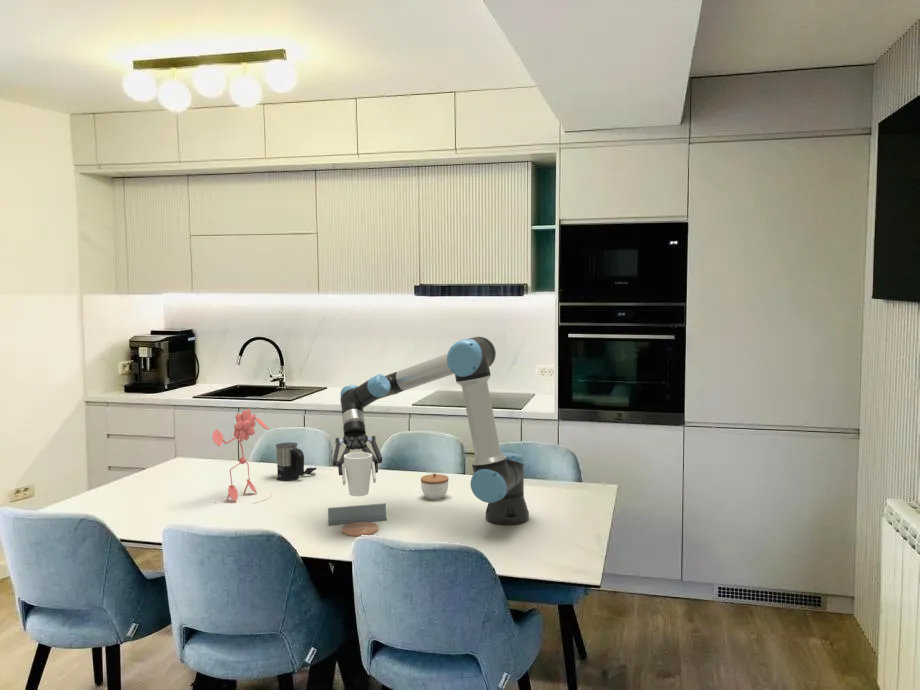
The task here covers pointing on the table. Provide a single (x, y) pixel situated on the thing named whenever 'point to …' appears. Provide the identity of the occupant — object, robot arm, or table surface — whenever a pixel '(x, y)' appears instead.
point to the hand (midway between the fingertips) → (359, 481)
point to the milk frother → (290, 462)
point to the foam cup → (358, 472)
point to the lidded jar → (434, 486)
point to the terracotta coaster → (360, 528)
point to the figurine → (243, 431)
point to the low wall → (357, 514)
